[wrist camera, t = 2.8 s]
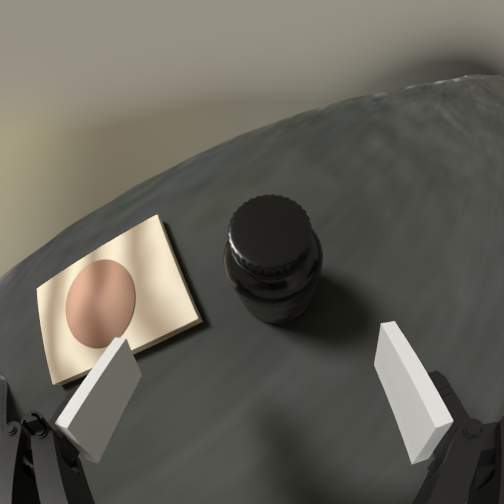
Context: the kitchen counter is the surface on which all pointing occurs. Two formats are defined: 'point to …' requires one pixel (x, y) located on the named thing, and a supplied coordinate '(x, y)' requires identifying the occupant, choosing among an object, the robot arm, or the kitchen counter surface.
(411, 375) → the robot arm
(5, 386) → the soda pack
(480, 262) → the kitchen counter surface
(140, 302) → the birch board
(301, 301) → the supplement bottle
